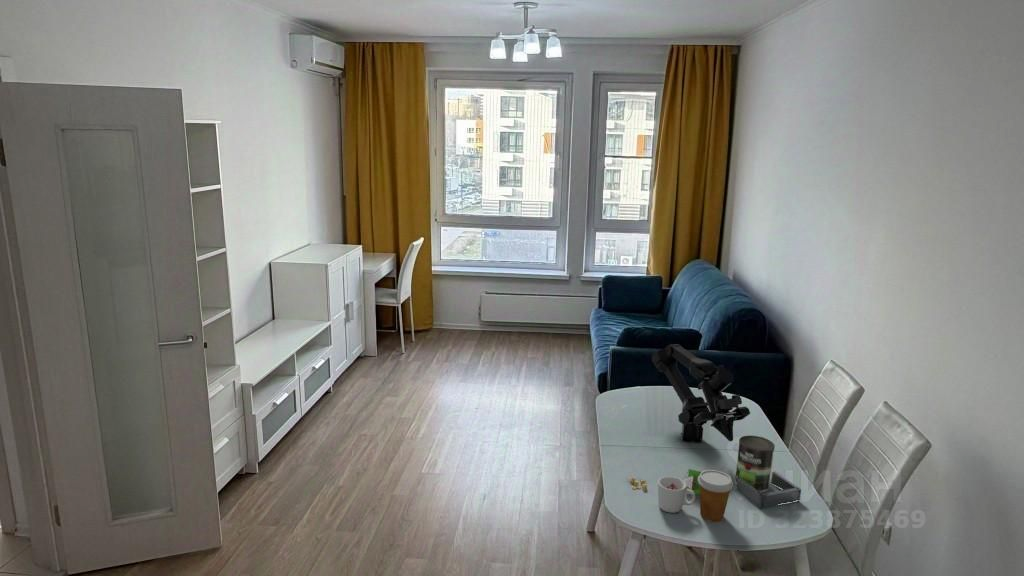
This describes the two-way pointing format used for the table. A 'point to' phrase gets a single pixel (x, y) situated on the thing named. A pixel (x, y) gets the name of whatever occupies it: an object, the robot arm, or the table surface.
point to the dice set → (632, 480)
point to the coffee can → (755, 461)
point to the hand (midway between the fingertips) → (731, 440)
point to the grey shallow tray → (773, 498)
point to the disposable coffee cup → (714, 494)
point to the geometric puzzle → (692, 481)
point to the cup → (673, 494)
